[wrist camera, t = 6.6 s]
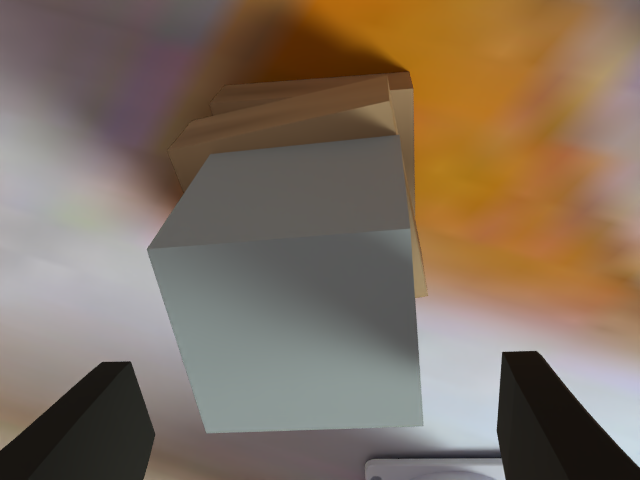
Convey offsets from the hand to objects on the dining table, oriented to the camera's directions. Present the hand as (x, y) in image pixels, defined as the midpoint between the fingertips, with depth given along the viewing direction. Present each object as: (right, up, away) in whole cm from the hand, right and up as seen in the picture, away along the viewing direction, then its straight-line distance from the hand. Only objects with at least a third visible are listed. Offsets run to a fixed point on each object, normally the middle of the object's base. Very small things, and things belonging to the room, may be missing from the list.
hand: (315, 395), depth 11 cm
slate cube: (0, +3, +5) cm, 6 cm away
